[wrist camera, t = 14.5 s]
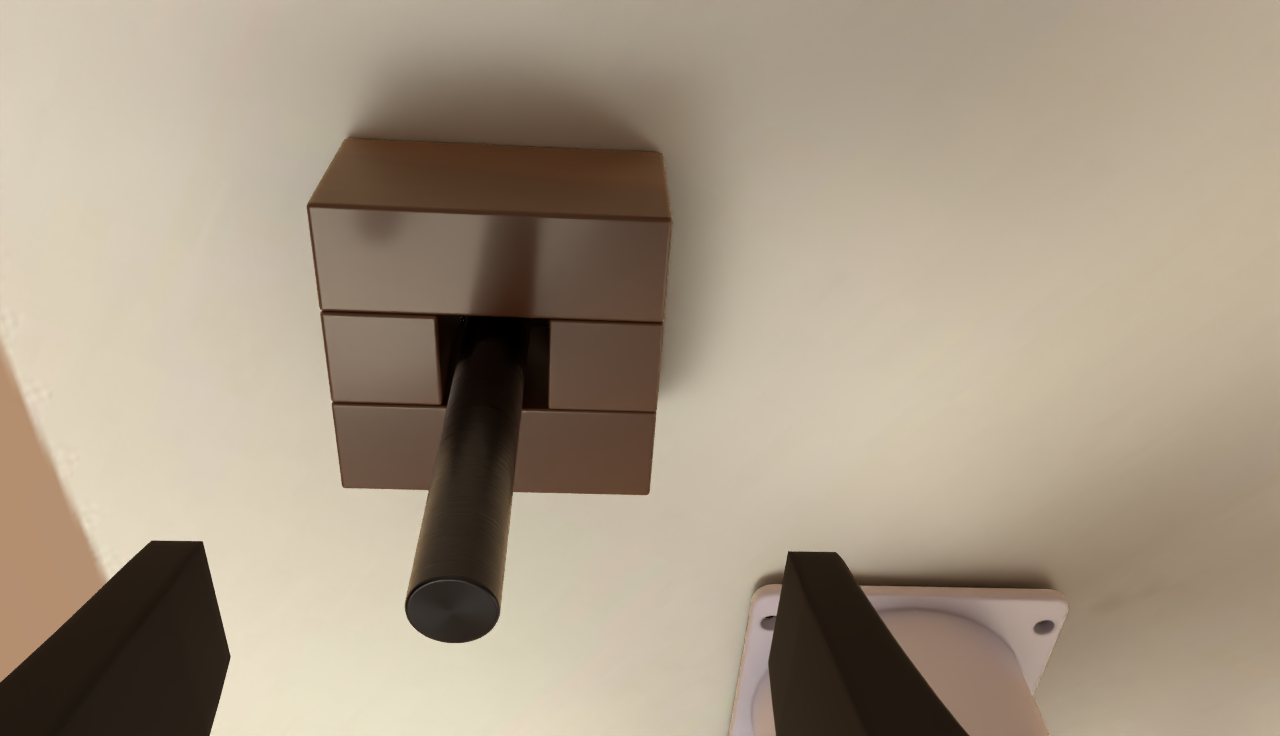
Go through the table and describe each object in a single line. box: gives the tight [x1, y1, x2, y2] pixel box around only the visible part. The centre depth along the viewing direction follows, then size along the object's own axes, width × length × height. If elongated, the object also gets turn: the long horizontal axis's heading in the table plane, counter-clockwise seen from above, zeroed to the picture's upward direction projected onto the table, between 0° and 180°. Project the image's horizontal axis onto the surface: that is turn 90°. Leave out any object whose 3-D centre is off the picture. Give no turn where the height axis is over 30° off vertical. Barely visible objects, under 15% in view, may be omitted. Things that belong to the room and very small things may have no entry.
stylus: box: [405, 316, 531, 643], centre depth 17 cm, size 1×1×9 cm
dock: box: [307, 138, 673, 495], centre depth 19 cm, size 6×6×3 cm
